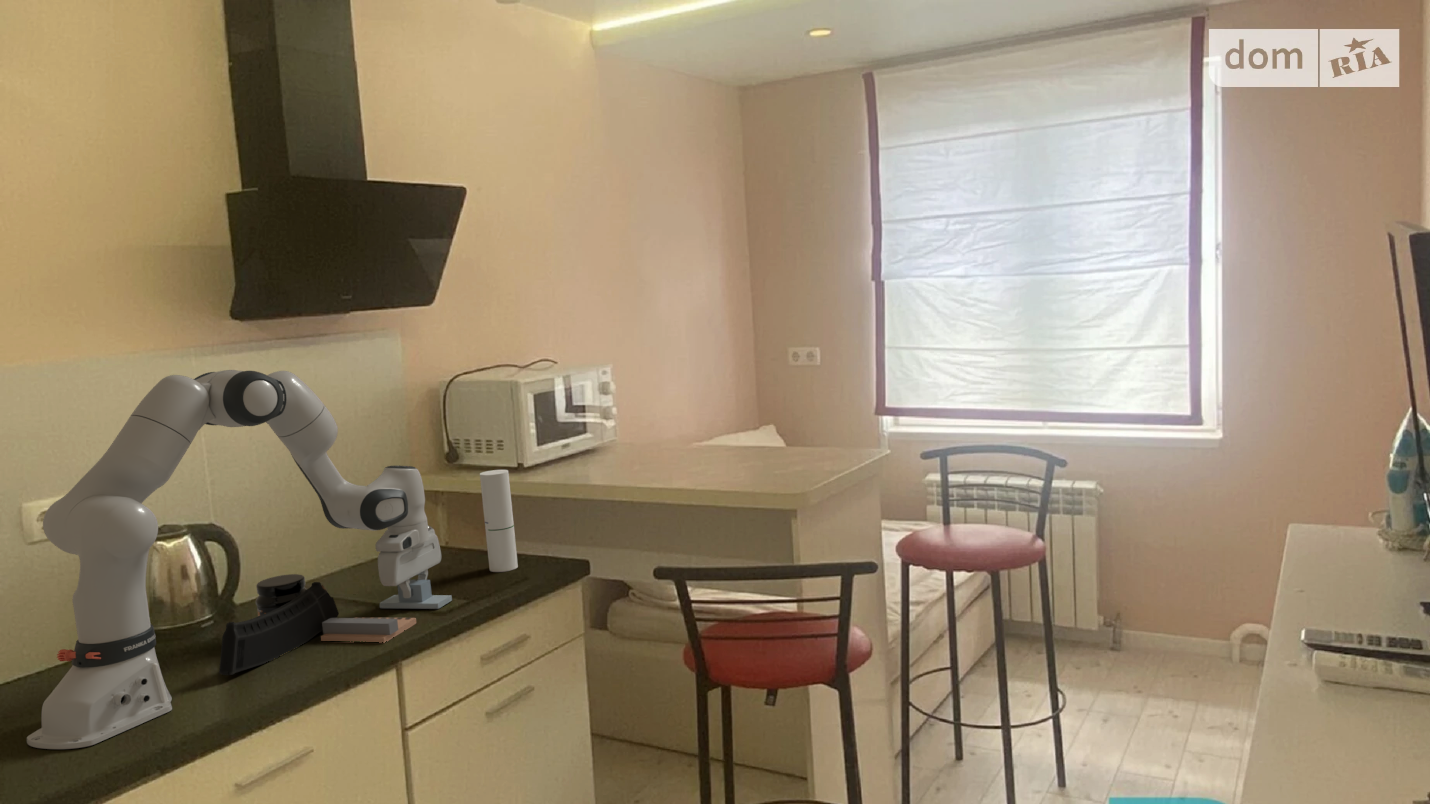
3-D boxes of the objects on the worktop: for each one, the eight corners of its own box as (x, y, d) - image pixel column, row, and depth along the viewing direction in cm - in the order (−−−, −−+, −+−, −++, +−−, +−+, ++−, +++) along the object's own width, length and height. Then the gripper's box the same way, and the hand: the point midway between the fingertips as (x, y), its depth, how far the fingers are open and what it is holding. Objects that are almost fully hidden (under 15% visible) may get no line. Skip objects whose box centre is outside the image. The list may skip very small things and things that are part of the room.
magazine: (217, 640, 184) (318, 552, 210) (203, 639, 185) (305, 552, 211) (248, 713, 190) (342, 619, 216) (234, 712, 191) (330, 619, 217)
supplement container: (250, 638, 212) (243, 584, 210) (296, 623, 220) (289, 571, 219) (277, 646, 205) (270, 590, 204) (323, 630, 214) (316, 576, 213)
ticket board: (386, 643, 202) (384, 626, 201) (319, 641, 206) (317, 625, 206) (418, 623, 213) (416, 607, 213) (354, 622, 217) (352, 606, 217)
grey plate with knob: (438, 608, 222) (435, 586, 222) (380, 608, 226) (377, 586, 225) (452, 600, 228) (449, 578, 227) (394, 599, 232) (392, 578, 231)
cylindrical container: (509, 562, 259) (500, 468, 256) (522, 567, 253) (513, 471, 251) (484, 569, 254) (474, 473, 252) (497, 573, 249) (487, 476, 246)
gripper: (421, 523, 236) (427, 580, 237) (370, 546, 216) (377, 607, 218) (444, 523, 234) (450, 580, 236) (395, 546, 215) (402, 607, 216)
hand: (415, 593), depth 227 cm, fingers closed on grey plate with knob, 4 cm apart
